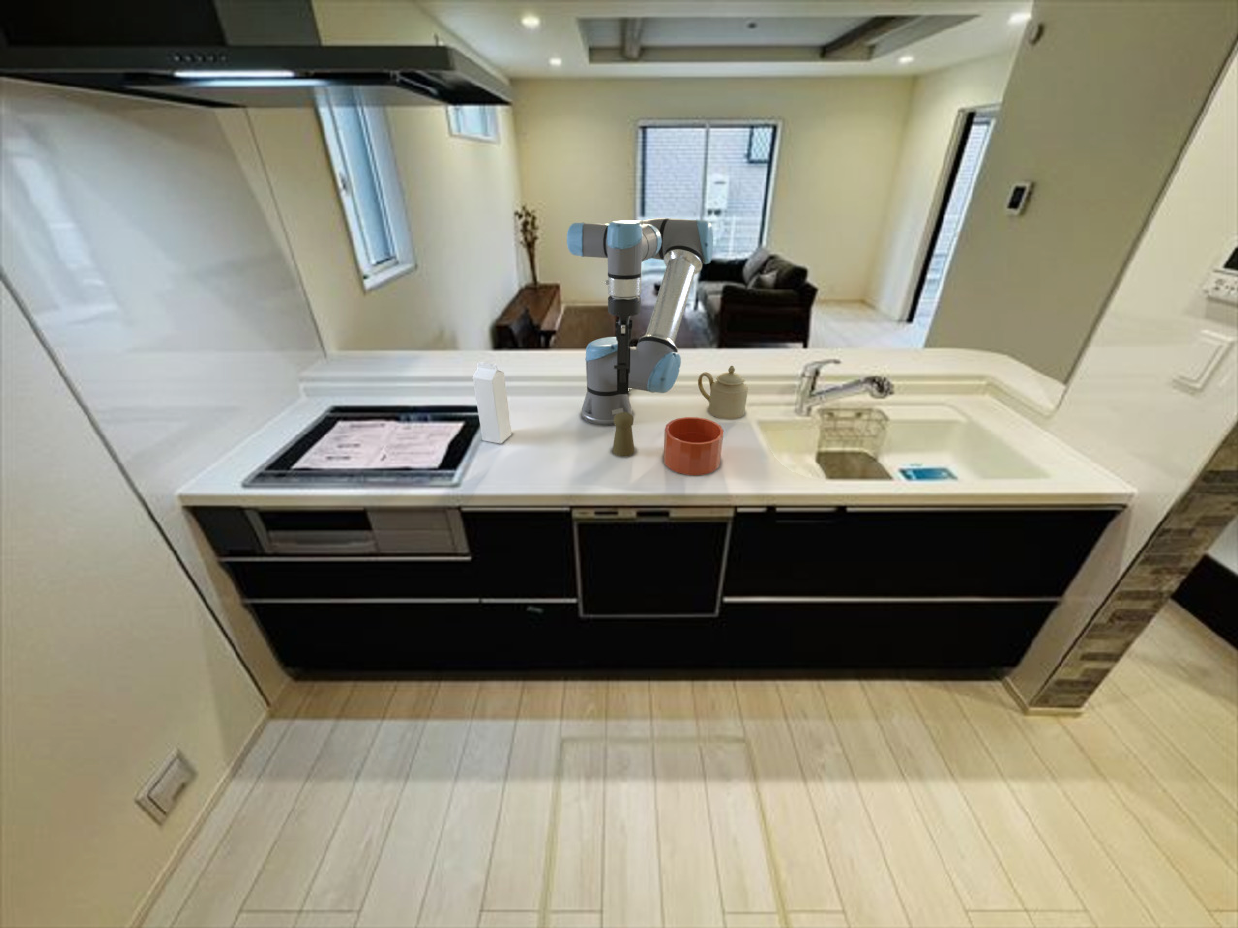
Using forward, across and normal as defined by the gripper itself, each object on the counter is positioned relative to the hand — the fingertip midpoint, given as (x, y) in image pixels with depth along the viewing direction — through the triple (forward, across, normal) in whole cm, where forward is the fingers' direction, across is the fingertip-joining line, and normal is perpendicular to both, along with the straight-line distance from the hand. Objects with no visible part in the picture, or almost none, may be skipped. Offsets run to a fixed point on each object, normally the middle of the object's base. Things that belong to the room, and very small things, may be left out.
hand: (623, 382), depth 129 cm
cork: (+20, 0, 0) cm, 20 cm away
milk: (+20, -6, -36) cm, 42 cm away
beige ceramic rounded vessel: (+20, -26, +29) cm, 44 cm away
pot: (+20, +4, +18) cm, 27 cm away
